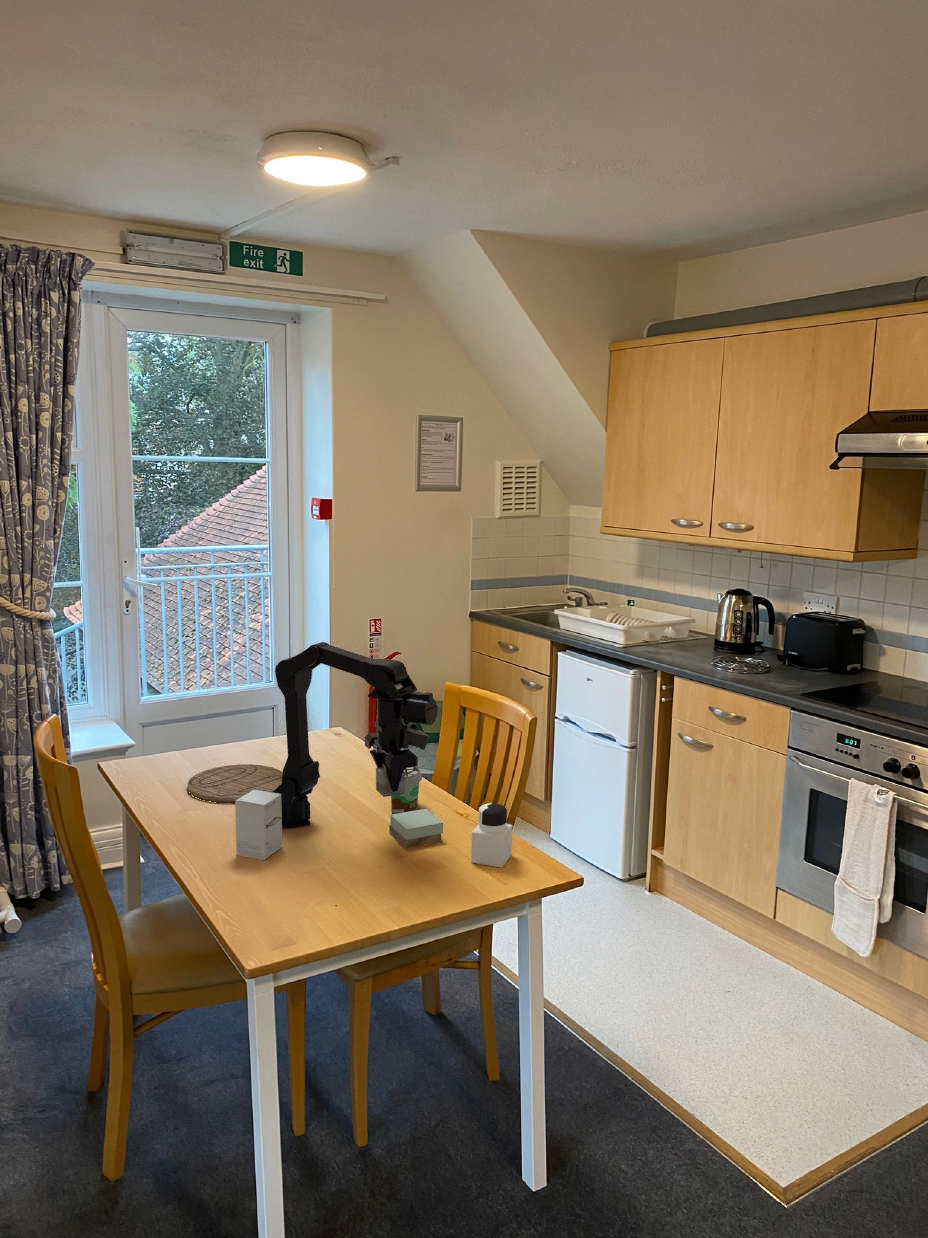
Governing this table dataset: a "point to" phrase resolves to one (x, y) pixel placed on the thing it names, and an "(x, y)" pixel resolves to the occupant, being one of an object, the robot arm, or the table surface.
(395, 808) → the food container
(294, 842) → the table surface
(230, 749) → the table surface
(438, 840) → the walnut slab
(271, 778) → the trivet
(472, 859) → the medicine bottle
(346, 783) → the table surface
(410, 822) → the sage slab
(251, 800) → the supplement box
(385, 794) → the grey cube
